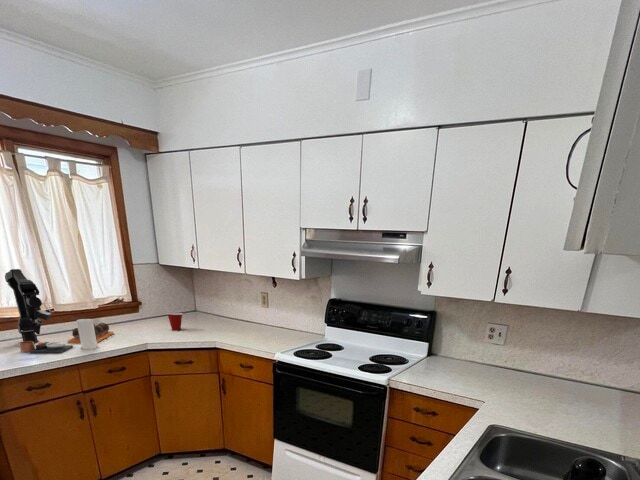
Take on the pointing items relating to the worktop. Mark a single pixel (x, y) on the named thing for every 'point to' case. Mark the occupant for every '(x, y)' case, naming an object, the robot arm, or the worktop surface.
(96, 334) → the brown piece
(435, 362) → the worktop surface
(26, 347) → the bowl
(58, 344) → the scale pan
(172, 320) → the plastic cup
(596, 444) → the worktop surface
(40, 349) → the scale
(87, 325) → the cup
